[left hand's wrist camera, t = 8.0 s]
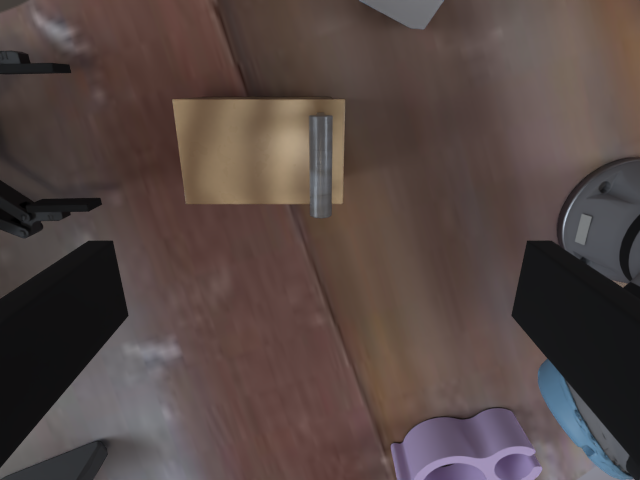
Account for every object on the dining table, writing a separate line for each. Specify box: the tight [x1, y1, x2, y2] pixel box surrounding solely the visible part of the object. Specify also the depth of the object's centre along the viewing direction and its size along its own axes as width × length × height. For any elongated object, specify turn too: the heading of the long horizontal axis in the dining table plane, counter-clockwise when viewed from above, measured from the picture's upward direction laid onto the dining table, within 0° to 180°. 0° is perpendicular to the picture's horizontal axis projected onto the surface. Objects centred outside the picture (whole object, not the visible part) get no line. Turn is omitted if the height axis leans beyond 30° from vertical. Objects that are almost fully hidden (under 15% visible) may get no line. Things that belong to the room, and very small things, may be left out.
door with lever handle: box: [172, 99, 345, 218], centre depth 34 cm, size 16×10×9 cm, turn 90°
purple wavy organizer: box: [391, 408, 542, 480], centre depth 60 cm, size 20×12×7 cm, turn 116°
